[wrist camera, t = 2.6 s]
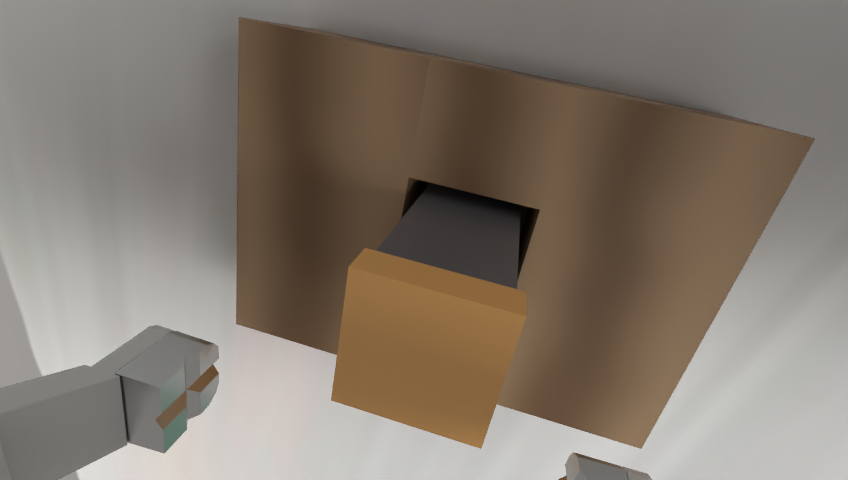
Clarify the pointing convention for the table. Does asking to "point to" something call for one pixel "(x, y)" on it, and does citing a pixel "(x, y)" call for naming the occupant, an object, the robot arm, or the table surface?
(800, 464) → the table surface
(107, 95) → the table surface
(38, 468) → the robot arm
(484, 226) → the plug
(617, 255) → the socket block
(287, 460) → the table surface
